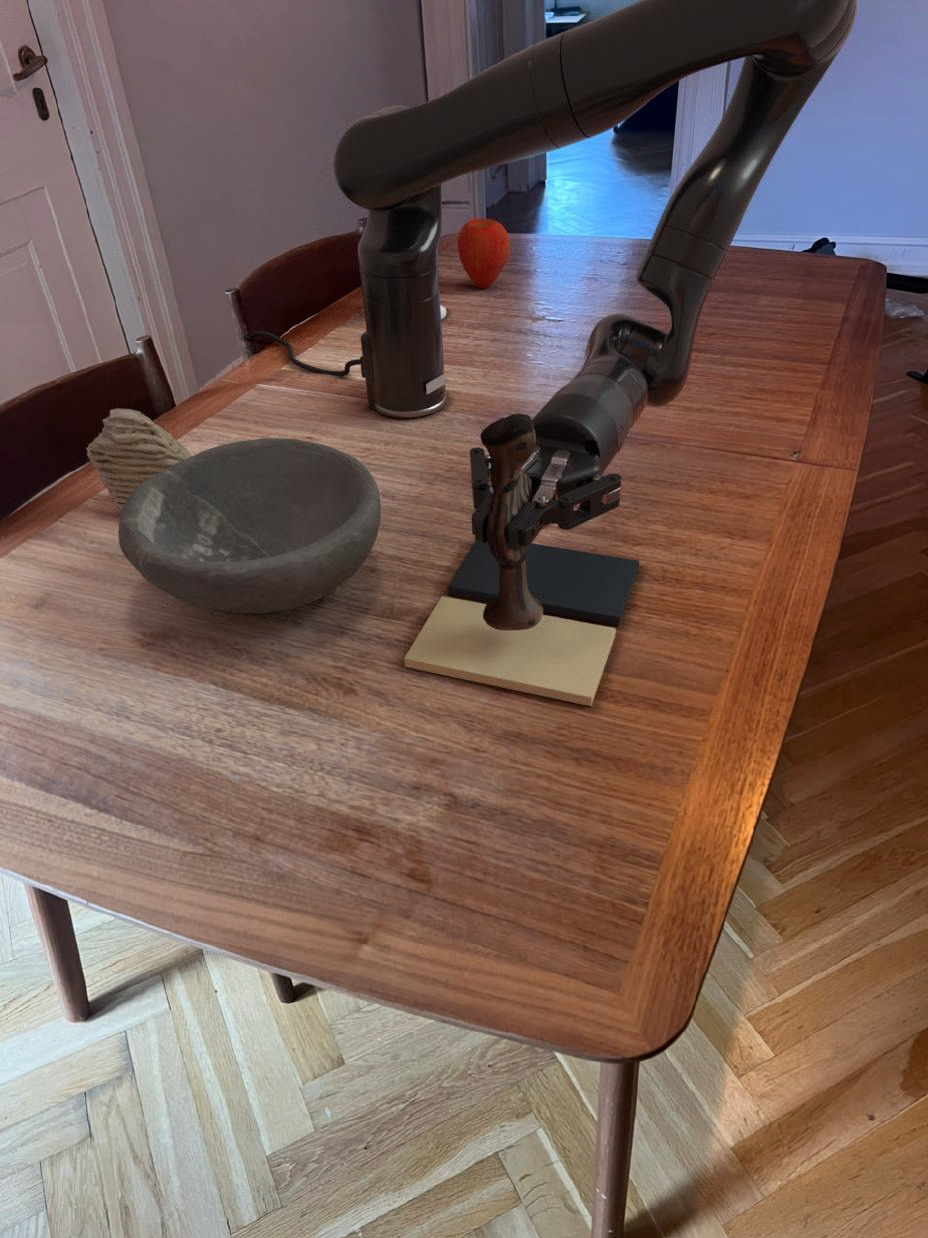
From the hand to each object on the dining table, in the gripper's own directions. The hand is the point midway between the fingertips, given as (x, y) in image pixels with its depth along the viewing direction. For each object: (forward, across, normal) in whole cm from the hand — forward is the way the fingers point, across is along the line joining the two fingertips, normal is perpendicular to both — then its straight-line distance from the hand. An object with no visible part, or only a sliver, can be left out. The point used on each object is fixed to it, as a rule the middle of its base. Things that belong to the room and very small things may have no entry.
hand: (496, 536), depth 65 cm
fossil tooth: (-10, -44, +14) cm, 47 cm away
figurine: (-3, 0, +10) cm, 11 cm away
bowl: (-3, -25, +14) cm, 29 cm away
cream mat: (-3, 0, +14) cm, 14 cm away
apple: (-87, -42, +14) cm, 97 cm away
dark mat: (-13, -1, +14) cm, 19 cm away
